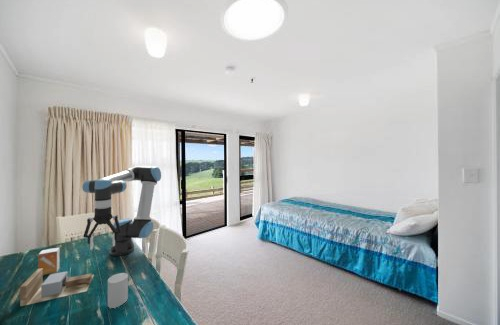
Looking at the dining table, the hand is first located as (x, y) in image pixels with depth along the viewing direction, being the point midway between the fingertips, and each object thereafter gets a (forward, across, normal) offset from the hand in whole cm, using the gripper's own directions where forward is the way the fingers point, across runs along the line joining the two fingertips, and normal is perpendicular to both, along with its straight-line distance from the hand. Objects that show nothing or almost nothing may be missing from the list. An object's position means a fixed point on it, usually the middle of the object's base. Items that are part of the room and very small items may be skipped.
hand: (103, 247), depth 111 cm
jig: (+20, +18, 0) cm, 26 cm away
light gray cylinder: (+20, -10, +22) cm, 31 cm away
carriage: (+18, +20, 0) cm, 27 cm away
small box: (+20, +30, -25) cm, 44 cm away
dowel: (+18, +10, 0) cm, 21 cm away
